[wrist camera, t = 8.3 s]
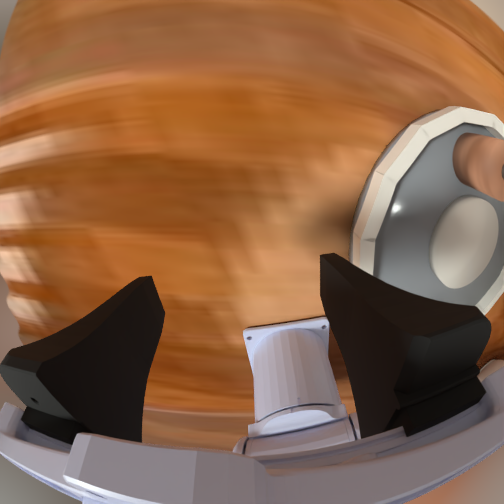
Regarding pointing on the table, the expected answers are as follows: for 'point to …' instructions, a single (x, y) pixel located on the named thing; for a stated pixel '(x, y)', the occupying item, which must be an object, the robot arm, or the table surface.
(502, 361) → the lidded jar
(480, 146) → the bead
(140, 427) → the robot arm
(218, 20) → the table surface
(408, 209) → the groove tray
